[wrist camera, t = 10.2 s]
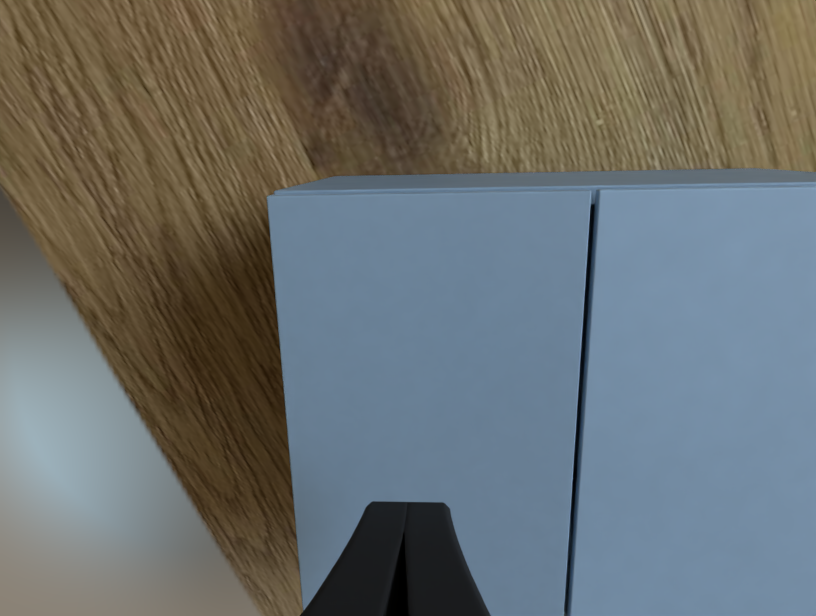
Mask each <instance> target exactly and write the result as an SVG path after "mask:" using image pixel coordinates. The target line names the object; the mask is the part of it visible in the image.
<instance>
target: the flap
mask: <svg viewBox="0 0 816 616" xmlns="http://www.w3.org/2000/svg"><path fill="white" fill-rule="evenodd" d="M567 616H816V186H768V187H706V188H643V189H597V190H596V197H595V212H594V226H593V241H592V256H591V271H590V286H589V300H588V315H587V330H586V345H585V360H584V375H583V389H582V404H581V419H580V434H579V449H578V464H577V478H576V493H575V508H574V523H573V538H572V553H571V567H570V582H569V597H568V612H567Z"/></svg>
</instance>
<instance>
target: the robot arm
mask: <svg viewBox="0 0 816 616" xmlns="http://www.w3.org/2000/svg"><path fill="white" fill-rule="evenodd" d="M300 616H491V615H490V613H489V611H488V609H487V607H486V605H485V603H484V601H483V598H482V596H481V594H480V592H479V590H478V588H477V585H476V583H475V581H474V579H473V577H472V575H471V572H470V570H469V567H468V565H467V563H466V560H465V557H464V555H463V552H462V550H461V547H460V544H459V541H458V538H457V535H456V532H455V529H454V525H453V521H452V517H451V511H450V508H449V507H448V506H447V505H446V504H445V503H444V502H387V501H372V502H371V503H370V504H369V505H367V506H366V508H365V510H364V512H363V515H362V517H361V519H360V521H359V523H358V525H357V527H356V529H355V530H354V532H353V534H352V536H351V538H350V540H349V541H348V543H347V545H346V546H345V548H344V550H343V552H342V553H341V555H340V557H339V558H338V560H337V562H336V563H335V565H334V566H333V568H332V569H331V571H330V572H329V574H328V576H327V577H326V579H325V580H324V582H323V583H322V585H321V586H320V588H319V590H318V591H317V593H316V594H315V596H314V597H313V599H312V600H311V601H310V603H309V604H308V606H307V607H306V608H305V610H304V611H303V612H302V614H301V615H300Z"/></svg>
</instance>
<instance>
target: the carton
mask: <svg viewBox="0 0 816 616" xmlns="http://www.w3.org/2000/svg"><path fill="white" fill-rule="evenodd" d="M768 186H816V172H803V171H788V170H773V169H757V168H747V169H694V170H642V171H589V172H536V173H484V174H431V175H378V176H334V177H330V178H326V179H322V180H318V181H314V182H310V183H305V184H301V185H297V186H293V187H289V188H285V189H281V190H276V191H274V195H269V196H267V207H268V218H269V230H270V241H271V252H272V264H273V275H274V286H275V298H276V309H277V320H278V332H279V343H280V354H281V366H282V377H283V389H284V400H285V411H286V423H287V434H288V445H289V457H290V468H291V479H292V491H293V502H294V513H295V525H296V536H297V547H298V559H299V570H300V581H301V593H302V604H303V611H304V610H305V608H306V607H307V606H308V604H309V603H310V601H311V600H312V599H313V597H314V596H315V594H316V593H317V591H318V590H319V588H320V586H321V585H322V583H323V582H324V580H325V579H326V577H327V576H328V574H329V572H330V571H331V569H332V568H333V566H334V565H335V563H336V562H337V560H338V558H339V557H340V555H341V553H342V552H343V550H344V548H345V546H346V545H347V543H348V541H349V540H350V538H351V536H352V534H353V532H354V530H355V529H356V527H357V525H358V523H359V521H360V519H361V517H362V515H363V512H364V510H365V508H366V506H367V505H369V504H370V503H371V502H372V501H387V502H444V503H445V504H446V505H447V506H448V507H449V508H450V511H451V517H452V521H453V525H454V529H455V532H456V535H457V538H458V541H459V544H460V547H461V550H462V552H463V555H464V557H465V560H466V563H467V565H468V567H469V570H470V572H471V575H472V577H473V579H474V581H475V583H476V585H477V588H478V590H479V592H480V594H481V596H482V598H483V601H484V603H485V605H486V607H487V609H488V611H489V613H490V615H491V616H567V612H568V597H569V582H570V567H571V553H572V538H573V523H574V508H575V493H576V478H577V464H578V449H579V434H580V419H581V404H582V389H583V375H584V360H585V345H586V330H587V315H588V300H589V286H590V271H591V256H592V241H593V226H594V212H595V197H596V190H597V189H643V188H706V187H768Z"/></svg>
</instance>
